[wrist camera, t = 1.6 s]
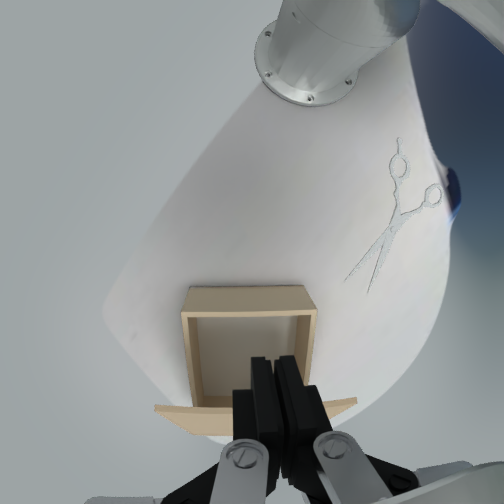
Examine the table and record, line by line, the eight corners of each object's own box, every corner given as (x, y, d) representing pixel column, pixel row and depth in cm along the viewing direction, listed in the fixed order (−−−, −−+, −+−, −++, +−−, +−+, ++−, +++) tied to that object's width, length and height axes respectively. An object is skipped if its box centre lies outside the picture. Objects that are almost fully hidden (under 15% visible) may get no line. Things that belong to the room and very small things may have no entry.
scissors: (450, 182, 35) (383, 305, 38) (447, 182, 35) (381, 303, 39) (399, 136, 33) (324, 272, 37) (396, 137, 34) (322, 270, 37)
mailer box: (190, 286, 37) (181, 311, 30) (303, 285, 37) (317, 309, 31) (200, 396, 41) (196, 428, 34) (293, 393, 42) (301, 425, 35)
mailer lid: (154, 404, 19) (154, 410, 19) (356, 397, 20) (357, 403, 20) (193, 431, 34) (193, 434, 34) (305, 428, 35) (305, 431, 35)
